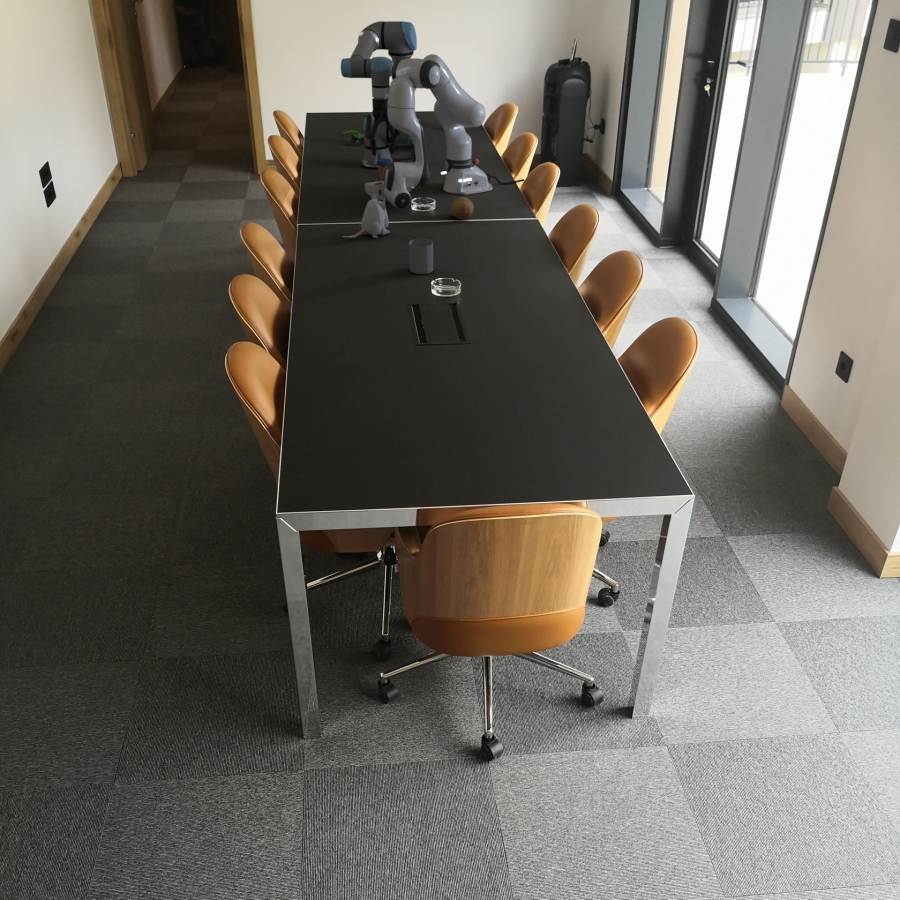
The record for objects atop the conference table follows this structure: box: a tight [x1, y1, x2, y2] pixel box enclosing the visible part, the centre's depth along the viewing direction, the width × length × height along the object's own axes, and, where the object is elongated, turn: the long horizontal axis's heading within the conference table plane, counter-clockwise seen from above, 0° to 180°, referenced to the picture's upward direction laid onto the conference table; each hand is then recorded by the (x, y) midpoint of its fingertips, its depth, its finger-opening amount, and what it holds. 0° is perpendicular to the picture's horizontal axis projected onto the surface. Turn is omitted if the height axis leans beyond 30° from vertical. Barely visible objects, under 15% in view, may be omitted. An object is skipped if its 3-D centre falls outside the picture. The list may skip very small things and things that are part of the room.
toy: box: [341, 194, 391, 239], centre depth 332 cm, size 9×24×15 cm, turn 137°
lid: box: [377, 158, 391, 166], centre depth 375 cm, size 6×6×2 cm
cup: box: [408, 237, 434, 275], centre depth 305 cm, size 8×8×10 cm
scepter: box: [341, 129, 365, 146], centre depth 464 cm, size 6×13×30 cm
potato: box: [450, 196, 475, 220], centre depth 355 cm, size 10×14×8 cm
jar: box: [377, 165, 388, 182], centre depth 379 cm, size 5×5×15 cm
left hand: (383, 154), depth 373 cm, fingers open, 8 cm apart
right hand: (383, 181), depth 380 cm, fingers closed on jar, 5 cm apart
